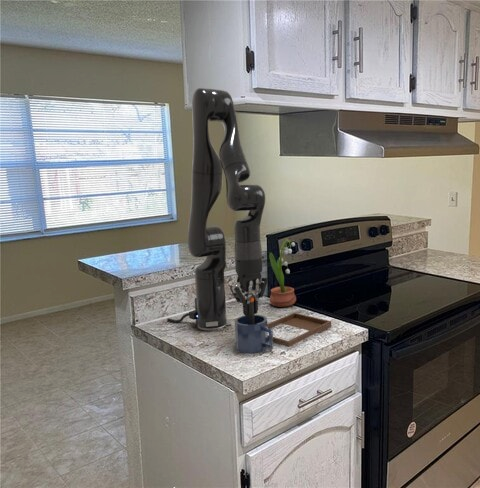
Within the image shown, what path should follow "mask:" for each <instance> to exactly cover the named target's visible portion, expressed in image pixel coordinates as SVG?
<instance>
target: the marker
mask: <svg viewBox="0 0 480 488" xmlns="http://www.w3.org/2000/svg"><path fill="white" fill-rule="evenodd" d="M250 304H251V316H249V317H248V316H247V318H248V325H250V324H255V318H254V315H255V314H254V297H250Z"/></svg>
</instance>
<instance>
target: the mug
mask: <svg viewBox="0 0 480 488" xmlns="http://www.w3.org/2000/svg"><path fill="white" fill-rule="evenodd" d="M254 318H255V324H250V325H248V318H247V316H245V315H244V314H243V315H241V316H239V317H236V318H235V319H234V334H235V350H236V351H237V352H239V353H242V354H246V355H247V354H249V355H251V354H253V355H254V354H258V353H262V352H264V351H266V350H267V349H268V350H273V349H274V343H273V337H274V330H273V329H272V328H270V329H269V328H267V324H268V318H267V316H265V315H262V314H254ZM268 335H269V341H268Z"/></svg>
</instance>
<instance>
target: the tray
mask: <svg viewBox="0 0 480 488" xmlns="http://www.w3.org/2000/svg"><path fill="white" fill-rule="evenodd" d="M279 325H285V326H289V327H294V328H298V329H302V330H305V331H306V332H303V333H301V334H299V335H297V336H296V337H293V338H292V339H289V340H286V339H282V338H279V337H275V336H273V344H277V345H280V346H284V347H287V348H290V347H292V346H294V345H296V344H298V343H300V342H302V341H304V340H306V339H307V338H309V337H312V336H313V335H315V334H321V333H323V332H324V331H327V330H328V329H330V328H332V320H327V319H323V318H319V317H316V316H315V317H314V316H310V315H307V314H302V313H299V312H291V313H289V314H288V315H285V316H283V317H281V318H278V319H276V320H274V321H271V322H269V323H267V328H269V329H272V328H275V327H276V326H279ZM268 342H269V334H268Z"/></svg>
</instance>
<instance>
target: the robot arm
mask: <svg viewBox="0 0 480 488" xmlns="http://www.w3.org/2000/svg"><path fill="white" fill-rule="evenodd" d="M192 95H193V96H192V103H191V104H192V105H191V117H192V135H193V136H192V139H193V141H192V142H193V143H192V145H193V146H192V165H191V166H192V167H191V198H190V199H191V200H190V213H189V220H188V228H187V237H186V244H187V249H188V252H189V254H190V255H191V256H192V257H193V258H197V259H199V258H204V257H205V259H203V261H202V262H201V263H200V264H198V265H197V266H196V267H195V268H194V280H195V281H194V282H195V284H194V285H195V298H194V309H193V310H191V311H188V312H187V313H185V314H183V315H182V316H181V317H180V318H179V319H173V318H167V319H166V321H167V322H171V323H175V324H177V323H181V322H183V320H184V319H185V318H186V317H188V318H189V319H191V320H194V321H195V327H197V328H198V330H200V331H206V332H213V331H214V330H219V329H222V328H225V327H227V326H228V322H227V303H226V286H225V270H226V264H227V262H226V261H227V259H226V257H227V256H226V255H227V252H226V251H227V245H226V244H227V242H226V237H225V236H226V235H225V233H224V231H223V229H222V228H221V227H219V226H217V225H210V226H207V224H208V219H209V214H210V212H211V210H212V208H213V207H214V204H215V203H216V201H217V200H218V198H219V196H220V194H221V192H222V189H223V180H224V177H225V185H226V194H225V195H226V196H225V197H226V203H227V206H228V207H229V209H231V210H232V211H234V212H246V211H248V212H247V215H246V216H245V217H243V218H240V219H238V220H236V221H234V265H235V266H234V267H235V273H236V275H237V278H236V283H235V284H234V285H231V286H229V290H230V292H231V294H232V296H233V297H234V300H235V301H236V303H238V304H239V303H240V304H242V313H243V316H244V315H245V316H248V317H249V316H251V304H250V297H254V315H258V311H259V301H260V298H262V299H263V297H264V294H265V291H266V287H267V284H268V281H269V278H268V277H265V276H262V271H263V251H262V248H263V247H262V243H261V222H262V219H263V213H264V210H265V205H266V193H265V190H264V189H263V187H262V186H261V185H259V184H241V183H244V182H245V181H247V180H248V179H249V178H250V176H251V170H250V167H249V164H248V160H247V158H246V155H245V151H244V149H243V146H242V142H241V137H240V131H239V124H238V119H237V114H236V109H235V103H234V100H233V98H232V95H231V94H230V93H229V91H227V90H224V89H215V88H205V87H198V88H196V89H195V90H194V92H193V94H192ZM209 122H211V123H212V122H213V123H221V124H222V126H223V129H224V135H223V138H222V141H221V143H220V147H219V153H218V152H217V150H216V149H215V146H214V145H213V143H212V141H211V138H210V133H209ZM240 184H241V185H240Z"/></svg>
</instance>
